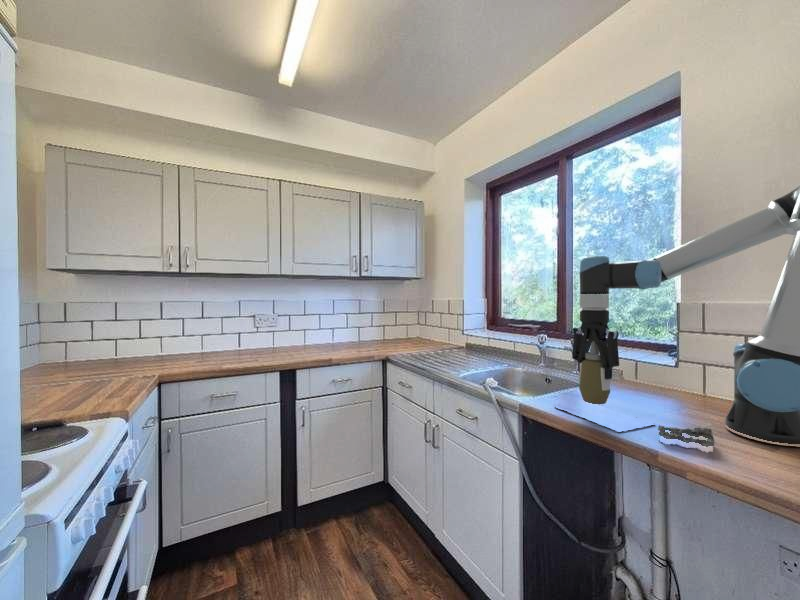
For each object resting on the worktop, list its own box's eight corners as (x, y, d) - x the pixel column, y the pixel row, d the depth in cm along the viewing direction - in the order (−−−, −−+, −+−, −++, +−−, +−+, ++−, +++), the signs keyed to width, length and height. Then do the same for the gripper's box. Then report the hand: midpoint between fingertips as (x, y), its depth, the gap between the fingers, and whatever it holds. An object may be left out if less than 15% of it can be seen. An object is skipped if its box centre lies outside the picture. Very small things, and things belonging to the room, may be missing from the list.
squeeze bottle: (594, 407, 97) (594, 343, 97) (572, 399, 105) (572, 340, 105) (617, 404, 100) (617, 342, 99) (594, 396, 107) (594, 339, 107)
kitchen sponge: (714, 445, 83) (714, 428, 83) (715, 457, 77) (715, 439, 77) (658, 434, 90) (659, 418, 90) (656, 443, 84) (656, 427, 84)
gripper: (635, 310, 94) (635, 394, 94) (576, 307, 112) (576, 378, 113) (615, 310, 92) (616, 397, 92) (558, 308, 110) (559, 380, 110)
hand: (594, 386), depth 102 cm, fingers closed on squeeze bottle, 6 cm apart
